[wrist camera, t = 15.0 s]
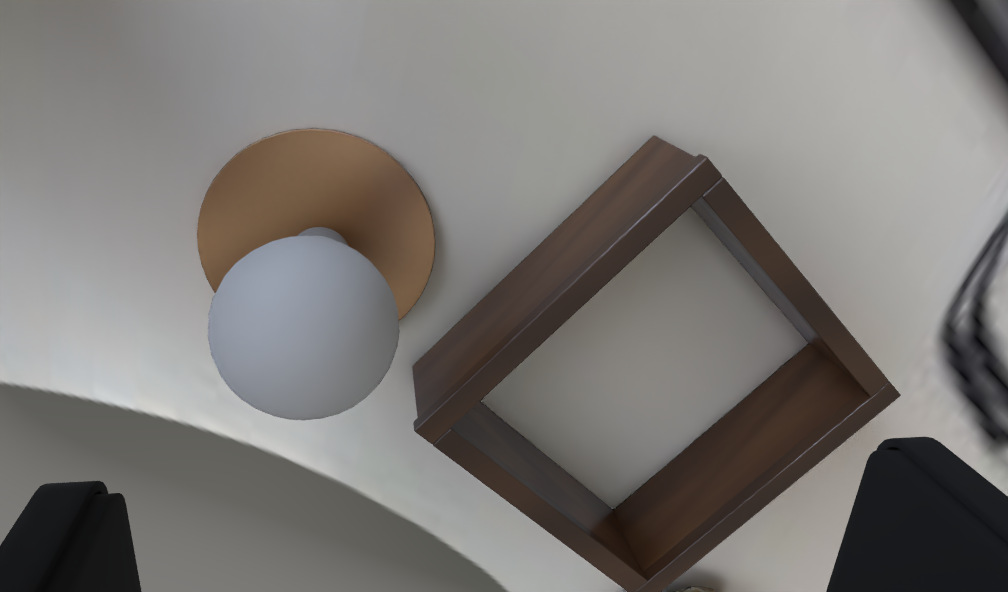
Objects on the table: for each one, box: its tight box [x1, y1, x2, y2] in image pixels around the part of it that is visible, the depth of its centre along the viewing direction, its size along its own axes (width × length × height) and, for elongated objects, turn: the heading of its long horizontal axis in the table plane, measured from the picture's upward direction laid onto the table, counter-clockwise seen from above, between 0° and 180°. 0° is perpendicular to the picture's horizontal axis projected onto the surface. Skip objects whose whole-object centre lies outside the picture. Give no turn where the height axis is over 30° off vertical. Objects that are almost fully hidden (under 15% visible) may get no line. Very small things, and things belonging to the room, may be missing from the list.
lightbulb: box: [208, 227, 399, 420], centre depth 26 cm, size 6×6×11 cm
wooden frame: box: [412, 136, 901, 592], centre depth 34 cm, size 16×16×6 cm
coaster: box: [197, 128, 435, 320], centre depth 31 cm, size 10×10×1 cm
